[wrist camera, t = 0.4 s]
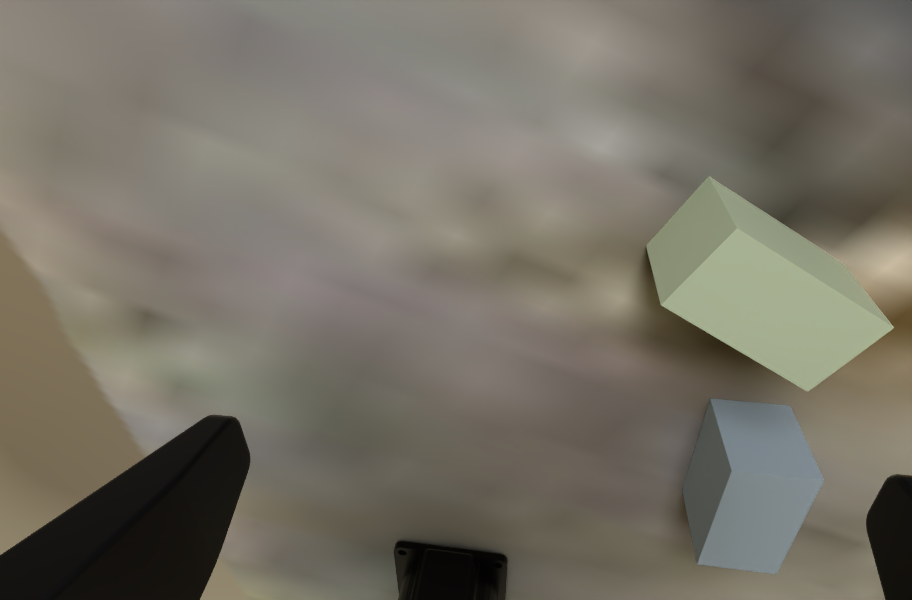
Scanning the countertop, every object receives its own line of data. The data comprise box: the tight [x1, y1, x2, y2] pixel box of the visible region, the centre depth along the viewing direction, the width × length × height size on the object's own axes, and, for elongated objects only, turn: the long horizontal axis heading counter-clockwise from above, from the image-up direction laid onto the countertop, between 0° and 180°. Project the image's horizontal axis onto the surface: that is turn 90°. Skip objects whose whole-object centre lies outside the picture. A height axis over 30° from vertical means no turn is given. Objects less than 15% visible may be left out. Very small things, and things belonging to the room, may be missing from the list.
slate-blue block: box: [682, 399, 824, 574], centre depth 25 cm, size 6×3×4 cm, turn 1°
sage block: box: [646, 177, 894, 392], centre depth 20 cm, size 6×3×4 cm, turn 61°
